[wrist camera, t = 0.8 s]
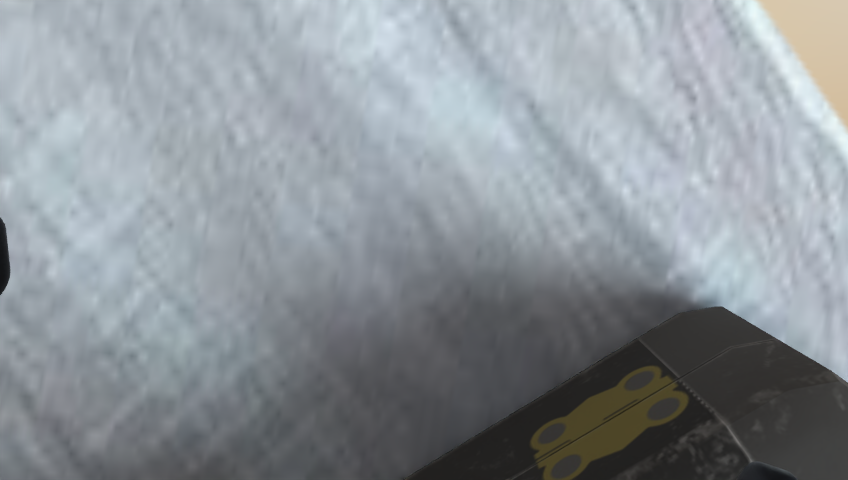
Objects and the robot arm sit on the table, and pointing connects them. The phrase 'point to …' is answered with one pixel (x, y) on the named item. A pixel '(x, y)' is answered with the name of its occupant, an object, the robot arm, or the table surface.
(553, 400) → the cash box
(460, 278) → the table surface
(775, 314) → the table surface
